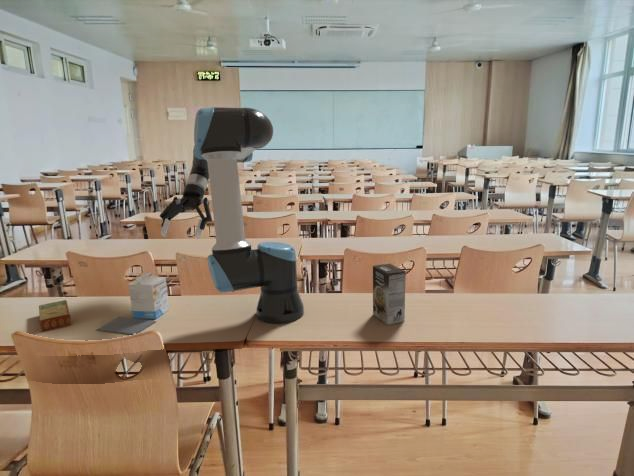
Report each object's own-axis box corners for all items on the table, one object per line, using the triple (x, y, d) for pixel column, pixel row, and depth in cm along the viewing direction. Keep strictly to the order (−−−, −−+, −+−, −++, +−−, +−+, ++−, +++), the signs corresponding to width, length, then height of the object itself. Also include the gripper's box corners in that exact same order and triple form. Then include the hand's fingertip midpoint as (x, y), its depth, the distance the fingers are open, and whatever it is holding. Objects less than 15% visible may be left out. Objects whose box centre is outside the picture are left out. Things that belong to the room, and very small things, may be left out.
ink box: (155, 319, 136) (150, 279, 133) (132, 318, 137) (126, 279, 134) (170, 309, 144) (165, 271, 141) (147, 308, 146) (142, 270, 143)
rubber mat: (155, 322, 134) (155, 321, 134) (134, 335, 125) (134, 333, 125) (119, 317, 138) (119, 316, 138) (97, 330, 129) (96, 328, 129)
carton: (41, 333, 129) (38, 320, 128) (40, 316, 143) (37, 304, 142) (72, 325, 134) (70, 313, 133) (68, 310, 147) (66, 298, 146)
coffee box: (372, 314, 134) (371, 265, 130) (389, 310, 136) (389, 262, 133) (387, 325, 126) (387, 273, 122) (405, 321, 128) (406, 270, 125)
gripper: (228, 194, 165) (215, 242, 155) (170, 193, 171) (153, 239, 160) (222, 183, 159) (207, 232, 149) (161, 182, 164) (143, 229, 154)
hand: (179, 236), depth 155 cm, fingers open, 13 cm apart
